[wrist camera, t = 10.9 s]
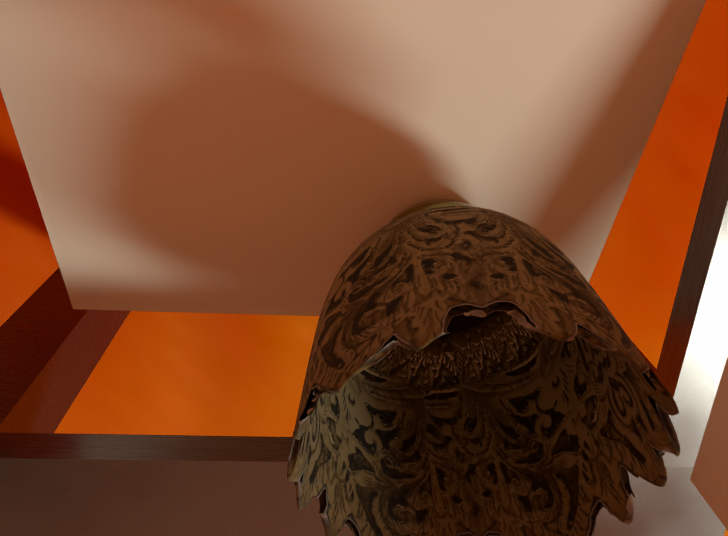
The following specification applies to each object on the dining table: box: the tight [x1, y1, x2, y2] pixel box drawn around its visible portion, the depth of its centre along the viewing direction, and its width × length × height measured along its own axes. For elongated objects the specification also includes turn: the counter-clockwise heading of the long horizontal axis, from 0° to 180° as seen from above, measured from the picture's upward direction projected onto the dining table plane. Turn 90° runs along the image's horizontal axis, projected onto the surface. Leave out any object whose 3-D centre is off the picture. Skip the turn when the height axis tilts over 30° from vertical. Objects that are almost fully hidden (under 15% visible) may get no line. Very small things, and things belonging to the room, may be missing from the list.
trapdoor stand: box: [0, 97, 728, 536], centre depth 22 cm, size 22×22×18 cm
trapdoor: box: [0, 0, 706, 316], centre depth 16 cm, size 17×16×1 cm
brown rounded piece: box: [287, 199, 680, 536], centre depth 16 cm, size 8×7×8 cm
